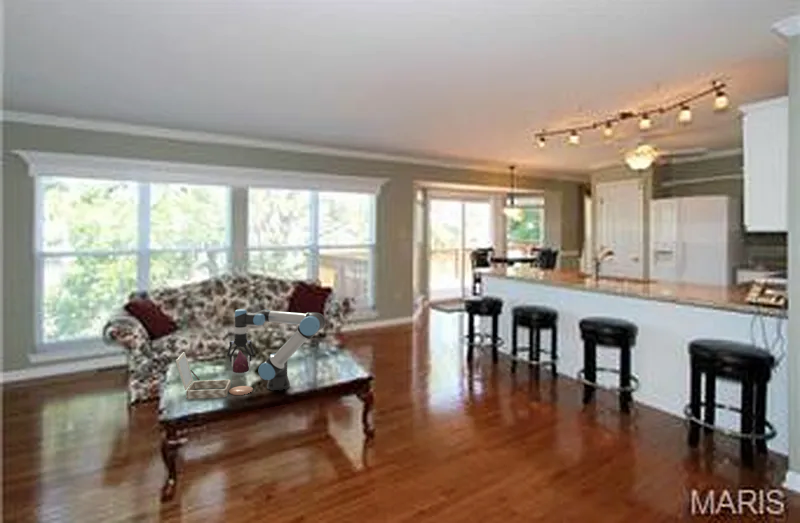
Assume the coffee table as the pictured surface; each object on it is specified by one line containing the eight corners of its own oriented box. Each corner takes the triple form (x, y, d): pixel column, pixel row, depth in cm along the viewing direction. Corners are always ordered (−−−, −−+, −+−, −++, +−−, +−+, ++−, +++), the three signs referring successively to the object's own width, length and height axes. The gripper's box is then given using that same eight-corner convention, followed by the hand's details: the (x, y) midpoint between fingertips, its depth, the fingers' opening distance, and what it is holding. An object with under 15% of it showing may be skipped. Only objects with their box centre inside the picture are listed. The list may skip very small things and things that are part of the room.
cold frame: (230, 386, 339) (230, 368, 338) (226, 397, 319) (226, 377, 318) (190, 388, 334) (190, 369, 333) (183, 398, 314) (183, 379, 313)
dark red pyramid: (233, 374, 332) (229, 351, 334) (249, 370, 336) (245, 348, 338) (233, 374, 323) (229, 351, 324) (249, 371, 326) (246, 348, 328)
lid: (184, 351, 331) (183, 352, 331) (177, 360, 312) (175, 360, 312) (193, 379, 334) (191, 380, 334) (186, 389, 314) (185, 390, 314)
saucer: (253, 387, 339) (253, 385, 339) (251, 394, 325) (251, 393, 325) (230, 387, 337) (230, 386, 336) (227, 395, 322) (227, 394, 322)
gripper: (258, 331, 333) (258, 363, 335) (223, 332, 329) (224, 365, 331) (257, 333, 326) (257, 367, 328) (222, 334, 322) (222, 368, 324)
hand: (240, 366), depth 329 cm, fingers closed on dark red pyramid, 10 cm apart
